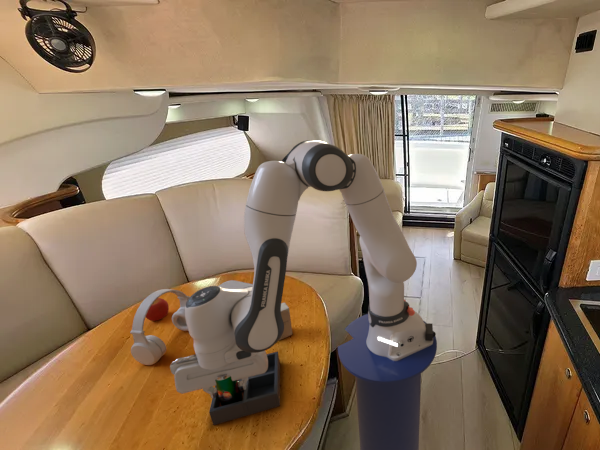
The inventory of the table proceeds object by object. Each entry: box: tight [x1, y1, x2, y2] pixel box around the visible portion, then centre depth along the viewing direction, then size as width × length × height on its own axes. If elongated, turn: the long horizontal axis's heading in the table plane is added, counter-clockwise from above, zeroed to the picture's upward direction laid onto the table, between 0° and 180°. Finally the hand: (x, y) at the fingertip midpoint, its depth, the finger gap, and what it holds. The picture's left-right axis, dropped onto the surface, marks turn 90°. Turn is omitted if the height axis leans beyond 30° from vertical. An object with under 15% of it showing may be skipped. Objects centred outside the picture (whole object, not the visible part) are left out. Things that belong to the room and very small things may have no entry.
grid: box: [208, 351, 281, 426], centre depth 86 cm, size 16×16×5 cm
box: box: [278, 302, 293, 341], centre depth 106 cm, size 5×4×11 cm
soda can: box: [214, 374, 243, 406], centre depth 80 cm, size 5×5×12 cm
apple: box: [145, 297, 170, 322], centre depth 115 cm, size 8×8×8 cm
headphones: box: [129, 288, 190, 366], centre depth 100 cm, size 20×8×19 cm, turn 173°
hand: (229, 391), depth 80 cm, fingers closed on soda can, 5 cm apart
